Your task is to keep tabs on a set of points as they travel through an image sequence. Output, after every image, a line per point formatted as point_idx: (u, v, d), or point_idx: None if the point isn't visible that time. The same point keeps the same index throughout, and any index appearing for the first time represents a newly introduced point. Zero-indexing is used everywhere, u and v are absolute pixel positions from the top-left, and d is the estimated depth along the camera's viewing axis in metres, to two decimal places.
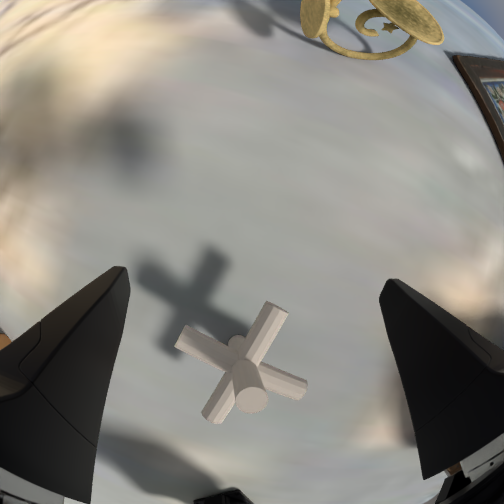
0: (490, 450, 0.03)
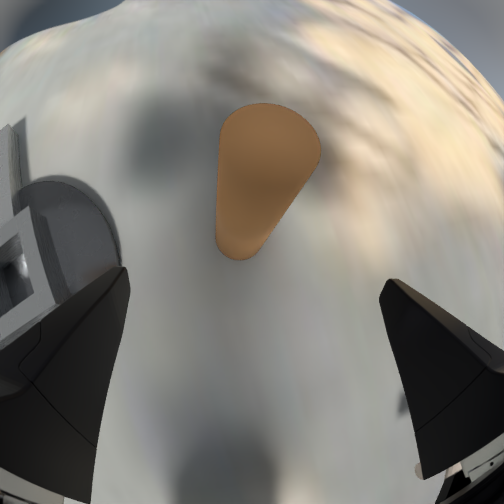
0: (490, 450, 0.03)
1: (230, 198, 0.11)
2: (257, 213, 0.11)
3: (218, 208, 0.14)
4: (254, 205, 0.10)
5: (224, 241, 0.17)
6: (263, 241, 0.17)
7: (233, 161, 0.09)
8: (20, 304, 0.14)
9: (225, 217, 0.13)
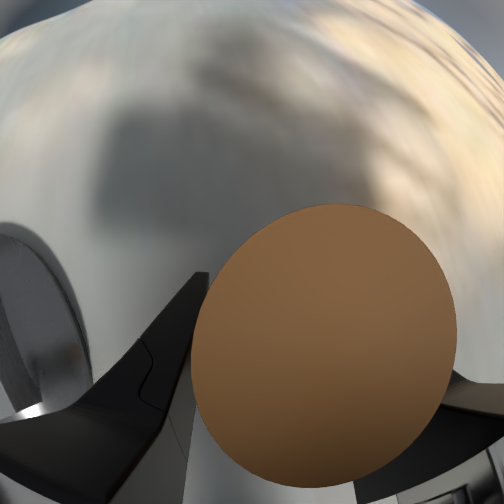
0: None
1: None
2: None
3: None
4: None
5: None
6: None
7: (241, 450, 0.02)
8: None
9: None
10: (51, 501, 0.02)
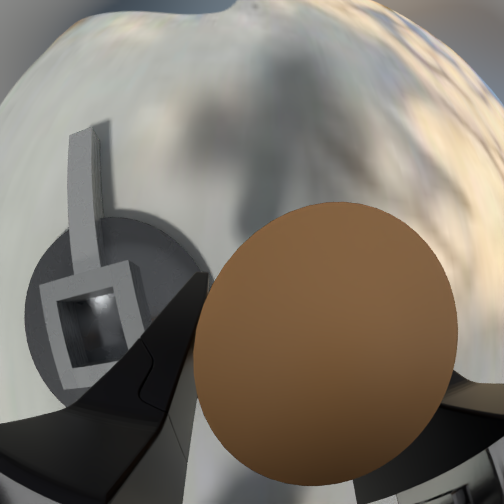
0: None
1: None
2: None
3: None
4: None
5: None
6: None
7: (243, 448, 0.02)
8: (110, 364, 0.16)
9: None
10: (51, 501, 0.02)
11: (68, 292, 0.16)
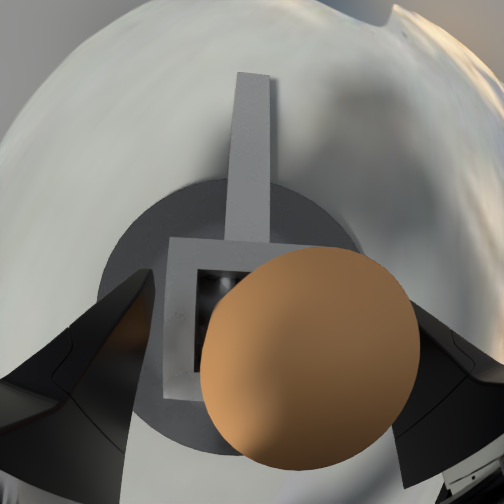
0: (490, 450, 0.03)
1: None
2: None
3: None
4: None
5: None
6: None
7: (237, 438, 0.03)
8: None
9: None
10: None
11: (223, 262, 0.13)
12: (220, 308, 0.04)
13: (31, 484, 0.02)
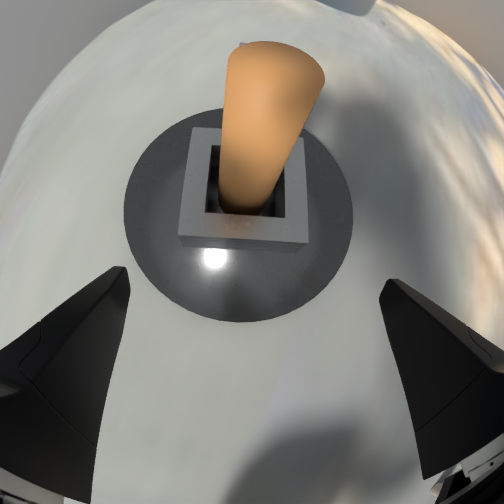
0: (490, 450, 0.03)
1: (236, 126, 0.10)
2: (263, 141, 0.10)
3: (222, 150, 0.13)
4: (260, 130, 0.10)
5: (227, 194, 0.17)
6: (267, 193, 0.16)
7: (241, 79, 0.08)
8: (258, 217, 0.17)
9: (230, 156, 0.13)
10: None
11: None
12: (236, 49, 0.08)
13: None
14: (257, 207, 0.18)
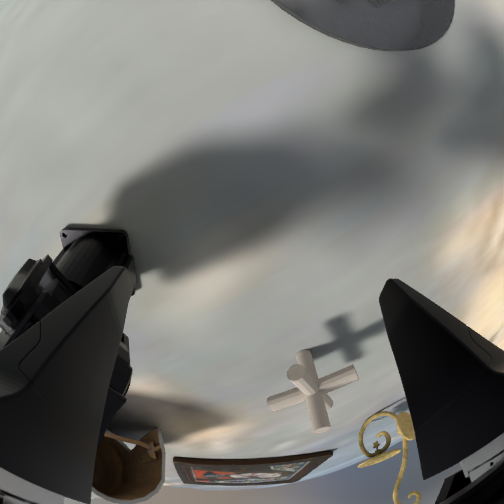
0: (490, 450, 0.03)
1: None
2: None
3: None
4: None
5: None
6: None
7: None
8: None
9: None
10: None
11: None
12: None
13: None
14: None
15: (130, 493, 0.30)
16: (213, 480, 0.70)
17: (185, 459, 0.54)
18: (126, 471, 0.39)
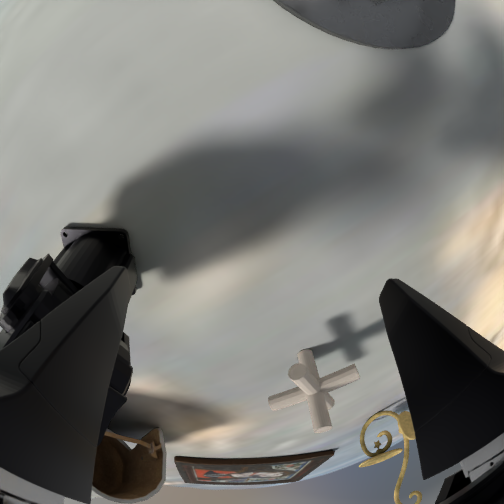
0: (490, 450, 0.03)
1: None
2: None
3: None
4: None
5: None
6: None
7: None
8: None
9: None
10: None
11: None
12: None
13: None
14: None
15: (131, 492, 0.30)
16: (214, 479, 0.70)
17: (186, 458, 0.54)
18: (127, 471, 0.39)
